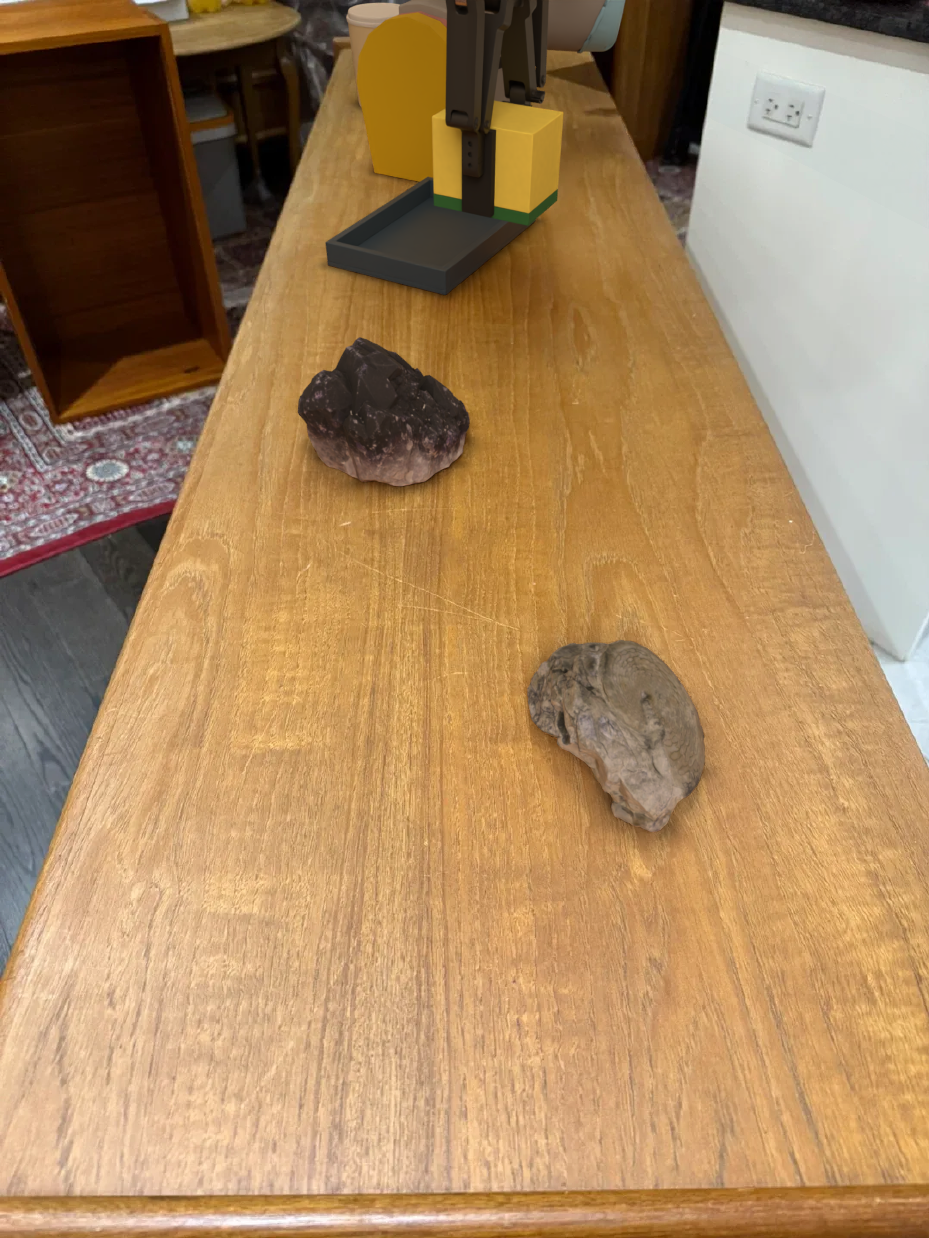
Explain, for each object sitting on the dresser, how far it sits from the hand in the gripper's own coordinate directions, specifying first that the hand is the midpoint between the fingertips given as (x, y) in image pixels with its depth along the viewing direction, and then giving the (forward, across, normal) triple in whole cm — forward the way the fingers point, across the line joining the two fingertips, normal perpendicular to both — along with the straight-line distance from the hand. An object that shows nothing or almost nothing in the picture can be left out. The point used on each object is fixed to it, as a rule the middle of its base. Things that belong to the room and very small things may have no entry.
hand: (495, 198), depth 76 cm
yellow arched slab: (+13, +34, +26) cm, 45 cm away
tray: (+12, +15, +15) cm, 24 cm away
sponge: (0, 0, 0) cm, 0 cm away
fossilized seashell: (+12, -40, -28) cm, 50 cm away
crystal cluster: (+12, -21, -1) cm, 24 cm away
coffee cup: (+13, +56, +46) cm, 73 cm away
